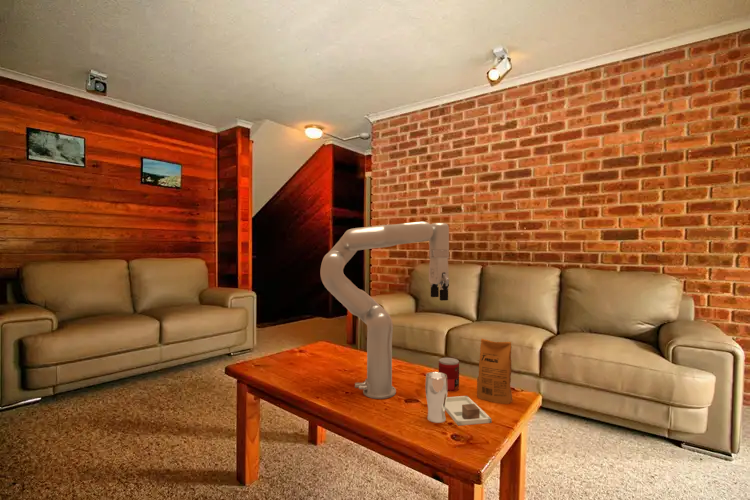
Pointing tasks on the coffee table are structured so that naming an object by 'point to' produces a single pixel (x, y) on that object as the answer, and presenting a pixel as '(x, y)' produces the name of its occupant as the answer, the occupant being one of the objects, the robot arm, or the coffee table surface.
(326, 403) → the coffee table surface
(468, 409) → the walnut block
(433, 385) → the beer glass
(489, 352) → the coffee package
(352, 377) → the coffee table surface
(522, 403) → the coffee table surface
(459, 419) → the tray
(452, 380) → the canned food
